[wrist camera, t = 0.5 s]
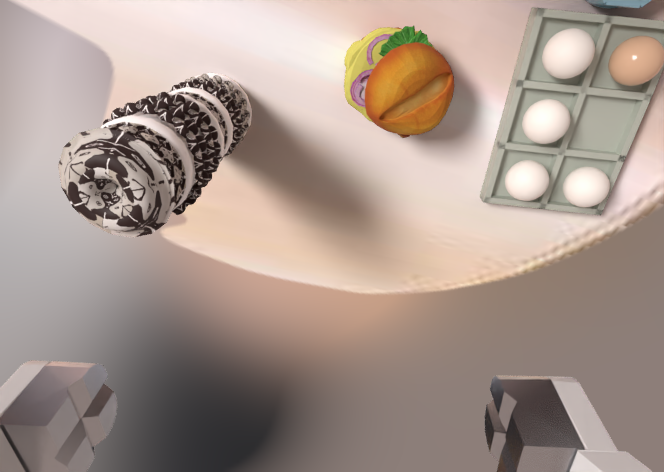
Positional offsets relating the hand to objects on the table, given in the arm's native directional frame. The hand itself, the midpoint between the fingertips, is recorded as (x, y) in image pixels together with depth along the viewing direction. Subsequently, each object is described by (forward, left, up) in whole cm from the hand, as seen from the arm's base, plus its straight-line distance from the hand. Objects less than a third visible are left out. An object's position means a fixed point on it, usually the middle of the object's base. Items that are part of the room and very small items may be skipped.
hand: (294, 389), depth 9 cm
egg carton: (+2, +25, -45) cm, 51 cm away
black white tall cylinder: (+6, -15, -45) cm, 48 cm away
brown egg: (-4, +28, -44) cm, 52 cm away
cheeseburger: (0, +5, -45) cm, 45 cm away
